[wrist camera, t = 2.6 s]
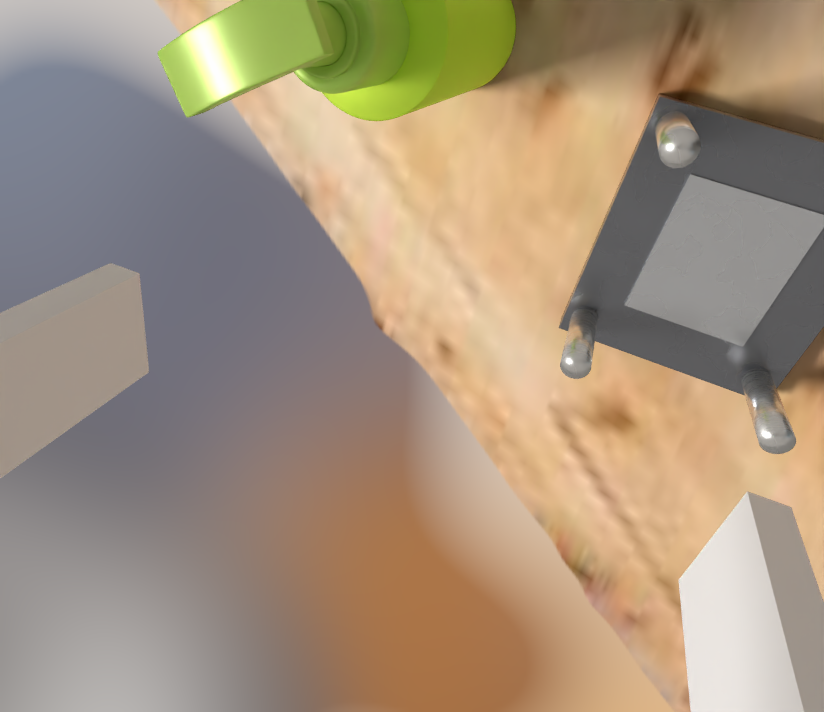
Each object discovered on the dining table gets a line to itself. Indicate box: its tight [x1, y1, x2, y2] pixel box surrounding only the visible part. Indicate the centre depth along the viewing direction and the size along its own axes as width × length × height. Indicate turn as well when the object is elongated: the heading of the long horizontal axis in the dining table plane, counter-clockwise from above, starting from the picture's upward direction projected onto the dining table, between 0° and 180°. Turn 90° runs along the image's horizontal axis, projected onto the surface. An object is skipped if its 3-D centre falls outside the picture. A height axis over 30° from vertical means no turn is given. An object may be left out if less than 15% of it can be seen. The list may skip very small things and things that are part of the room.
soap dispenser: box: [158, 0, 516, 121], centre depth 23 cm, size 6×7×20 cm
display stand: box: [559, 94, 824, 454], centre depth 29 cm, size 14×13×8 cm
